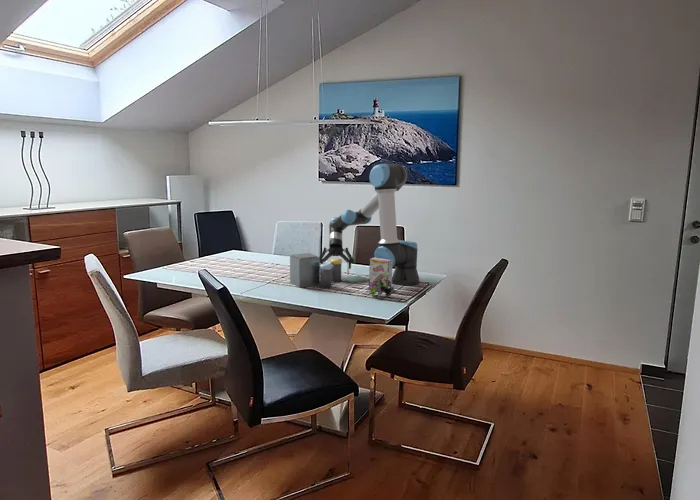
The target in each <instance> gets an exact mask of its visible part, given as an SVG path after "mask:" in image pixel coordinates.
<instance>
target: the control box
mask: <svg viewBox="0 0 700 500" xmlns="http://www.w3.org/2000/svg"><path fill="white" fill-rule="evenodd" d="M289 283H290V284H292V285H294V286H296V287H297V288H306V287H313V286H320V256H318V255H316V254H312V253H310V252H308V253H307V252H306V253H295V254H292V255H291V254H290V255H289Z"/></svg>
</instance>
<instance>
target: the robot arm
mask: <svg viewBox="0 0 700 500" xmlns="http://www.w3.org/2000/svg"><path fill="white" fill-rule="evenodd" d="M407 179H408V172H407V170H406V168H405V167H404V166H403V165H401V164H398V163H381V164H380V163H379V164H377V165H374V166H373V167H372V169H371V170H370V173H369V182H370V184H371V186H372V187H374V191H375V193H373V194H372V196H371V197H370V198H369V199H368V200H367V201H366V203H365V204H364V205H363V206H362V207H361V208H360V209H359V210H358V211H353V210H351V209H347V210H345V211H344V212H342V213H341V214H340V215H339V216H338V217H337V216H336V217H332V218H331V219H329V224H328V225H329V226H328V228H329V234H328V235H329V236H328V238H329V239H328V241H329V243H328V245H329V246H328V248H327V247H324V248H323V250H322V252H321V254H320V256H319V257H320V264H324V263H326V261H328V259H331V257H340V258H342V260H344V261H345V262H346V265H347V266H346V267H347V269H346V270H347V271H346V272H347V274H346V275H348V276H350V270H351V268H352V264H354V263H355V260H354V258H353V256H352V254H351V253H350V251H349V248H348V247H345V248H343V232H344V230H346V229H347V228H348V227H350V226H359V225H366V224H370V223H371V221H372V216H373V215H374V214H375V212H377V211H378V214H379V215H378V216H379V229H380V230H379V231H380V232H379V233H380V240H379V241H378V242H377V244H378V247H377V248H376V249H375V251H374V258H381V259H388V260H393V264H392V268H394V267H395V268H394V271H393V273H392V284H396V285H400V286H401V285H402V286H414V285H415V284H416V285H418V284H420V276H419V273H418V272H419V271H418V270H417V269H418V268H417V266H418V264H417V263H418V243H417V242H415V241H410V240H401V239H400V240H399V239H398V231H397V230H398V229H397V216H396V215H397V214H396V197H395V193H396V192H398V191H400V189H401V188H402V187H404V185H405V184H406V182H407ZM327 252H328V253H327ZM344 253H345V254H346V255H345V254H344ZM326 254H327V255H326Z"/></svg>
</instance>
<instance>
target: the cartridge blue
mask: <svg viewBox="0 0 700 500" xmlns="http://www.w3.org/2000/svg"><path fill="white" fill-rule="evenodd" d="M331 278H332V264H330V263H326V262H324V264H320V285H319V287H320V288H321V289H330V288H332V282H331Z"/></svg>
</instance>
